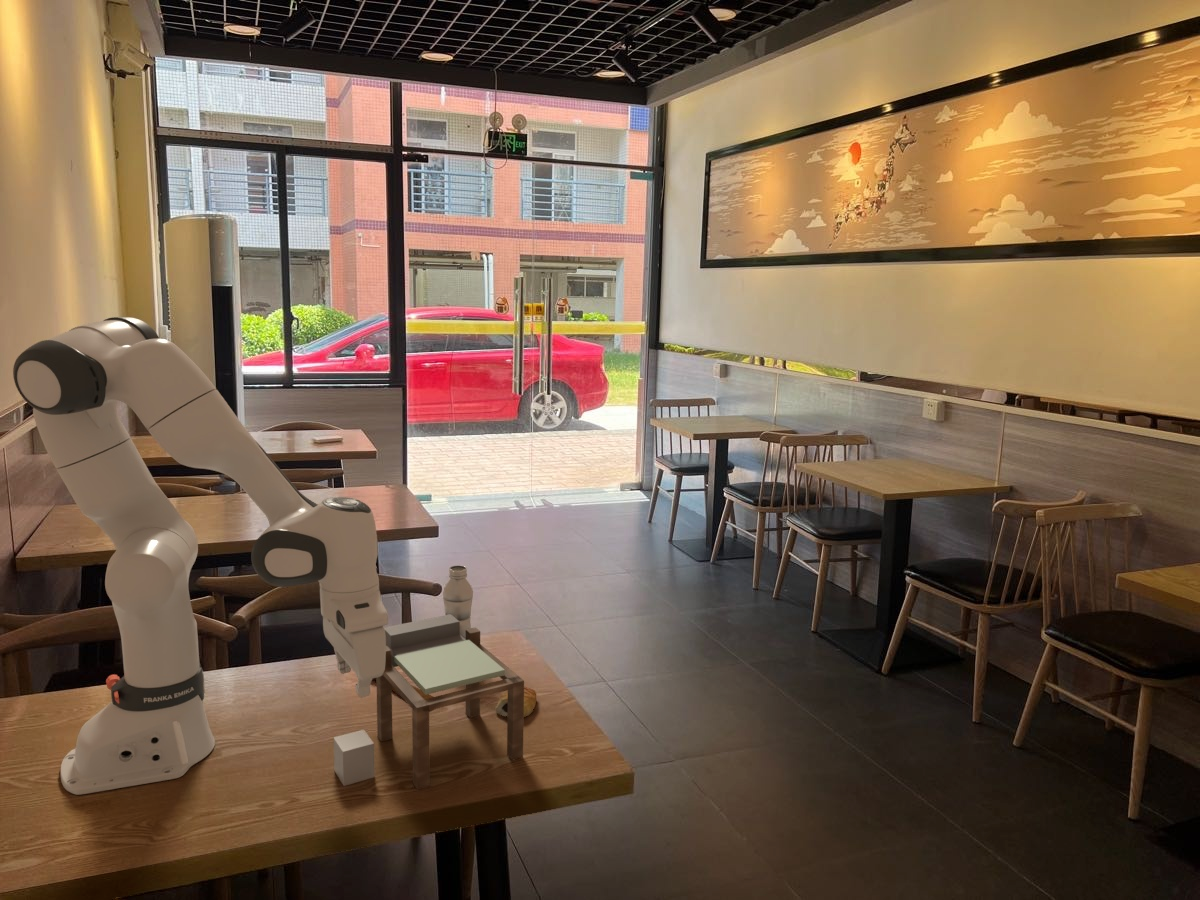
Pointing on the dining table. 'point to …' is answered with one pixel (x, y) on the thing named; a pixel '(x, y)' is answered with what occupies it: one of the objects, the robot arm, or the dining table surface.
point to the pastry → (528, 702)
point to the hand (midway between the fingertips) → (353, 683)
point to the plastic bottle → (458, 597)
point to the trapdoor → (438, 654)
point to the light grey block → (354, 757)
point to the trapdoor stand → (425, 705)
